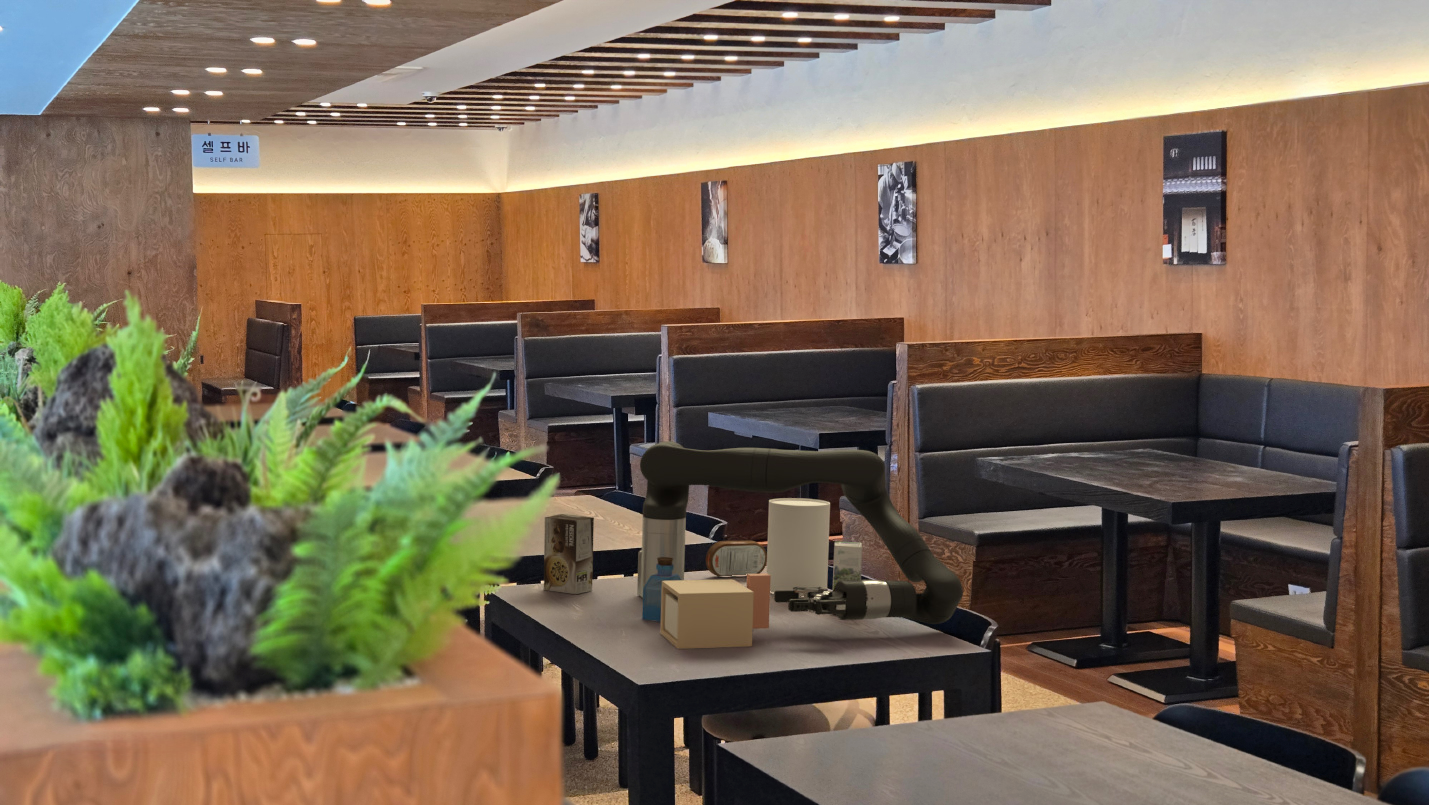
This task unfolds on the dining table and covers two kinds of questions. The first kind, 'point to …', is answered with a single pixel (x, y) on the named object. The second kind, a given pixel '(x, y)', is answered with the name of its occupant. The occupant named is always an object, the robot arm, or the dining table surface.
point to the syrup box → (847, 561)
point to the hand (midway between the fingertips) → (781, 601)
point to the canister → (798, 543)
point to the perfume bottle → (657, 589)
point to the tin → (736, 558)
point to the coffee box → (568, 553)
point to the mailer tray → (671, 614)
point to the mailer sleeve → (710, 613)
